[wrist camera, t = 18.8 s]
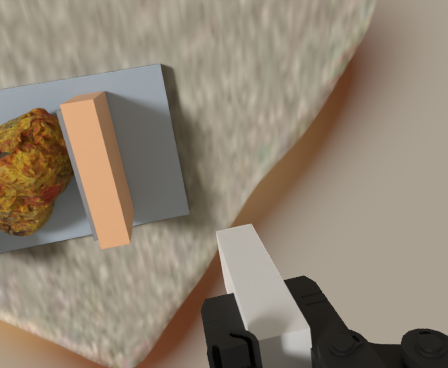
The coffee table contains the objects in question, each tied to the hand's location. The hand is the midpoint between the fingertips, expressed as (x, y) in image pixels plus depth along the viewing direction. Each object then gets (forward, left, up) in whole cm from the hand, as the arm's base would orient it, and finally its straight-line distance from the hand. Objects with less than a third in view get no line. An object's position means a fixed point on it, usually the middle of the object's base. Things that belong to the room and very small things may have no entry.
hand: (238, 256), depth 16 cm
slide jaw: (0, -8, -23) cm, 25 cm away
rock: (-1, -15, -23) cm, 28 cm away
